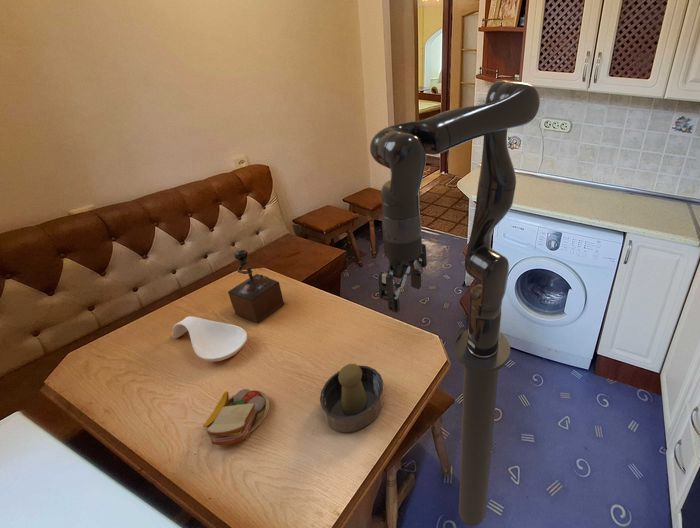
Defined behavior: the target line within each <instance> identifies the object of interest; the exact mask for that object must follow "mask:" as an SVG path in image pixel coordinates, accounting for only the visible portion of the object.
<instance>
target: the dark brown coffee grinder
mask: <svg viewBox="0 0 700 528" xmlns="http://www.w3.org/2000/svg"><path fill="white" fill-rule="evenodd" d="M248 255H249V254H248V251H247V250H246V249H238V250H237V251H236V252H235V253H234V254H233V257H234V259H236V260H237V261H239V266H238V267H237V269H236V270H237V273H239V274H244V275H248V277H249V278H248V279H246V280H244V281H242V282H241V283H239V284H237V285H236V286H234V287H233V288H231V289H229V290H228V291H227V294H228V296H229V300H230V303H231V306H232V309H233V311H234V314H235V315H236V316H237V317H238V318H241V319H244V320H246V321H249V322H252V323H254V324H256V325H259V324H260V323H261V322H263V321H265V320H266V319H268V318H269V317H270V316H272V314H274V313H276V312H277V311H279V309H281V308H282V307H283V306H284V305H285V301H284V298H283V293H282V290H281V289H282V288H281V285H280V282H279V281H278V280H275V279H273V278H270V277H268V276H265V275H263V274H258V273H256V274H254V275H253V270H252V267H251V266H247V267H246V270H242V269H243V268H244V266H246V265H247V264H248V263H249V262H250V260H249V259H248Z"/></svg>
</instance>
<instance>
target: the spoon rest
mask: <svg viewBox="0 0 700 528" xmlns="http://www.w3.org/2000/svg"><path fill="white" fill-rule="evenodd" d="M171 331H172V332H171V334H172V338H173V339H177V338H179V337H181V336H183V335H185V334H186V333H187V332H188V335H189V338H190V342H191V343H190V344H191V346H192V349H193V351H194V353H195V355H196V356H197V357H198V358H199V359H200V360H203V361H206V362H213V363H214V362H221V361H224V360H227V359H229V358H231V357H233V356H234V355H236V354H237V353H238V352H239V351H240V350H241V349H242V348H243V347H244V346H245V344H246V342H247V340H248V333H247V331H246V330H245V329H244V328H242V327H240V326H238V325H235V324H231V323H226V322H222V321H221V322H220V321H216V320H211V319H205V318H202V317H201V318H200V317H198V316H192V315H190V316H186V317H185V318H184V319H182V320H181V321H178V322H176V323H175V324H174V325H173V327H172V330H171Z"/></svg>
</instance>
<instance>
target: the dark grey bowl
mask: <svg viewBox="0 0 700 528" xmlns="http://www.w3.org/2000/svg"><path fill="white" fill-rule="evenodd" d="M357 365H358V364H357ZM358 366H359V367H360V368H361V370H362V378H361V382H362V385H363V388H364V391H365V393H366V396H367V404H366V406H365V407H364V409H363V410H361V411H360V412H358V413H356V414H347V413H345V412H344V411H343V410H342V407H341V398H342V385H341V384H340V382H339V379H338V376H339V372H340V370H339V371H337V372H335V373H334V374H333V375H331V376H330V377H329V379H328V380H327V381H325V383H324V385H323V387H322V389H321V391H320V395H319V403H320V407H321V413H322V416H323V421H324V422H325V424H326V425H327V426H328V427H329V428H331V429H333V430H334V431H336V432H341V433H353V432H357V431H359V430H362V429H363V428H365V427H367V426H368V425H370V424H372V422H374V420H375V419H377V417H378V416H379V414H380V413H381V412H382V410H383V407H384V404H385V387H384V386H385V385H384V380H383V378H382V376H381V374H380V372H378V371H377V370H376V369H375V368H373V367H370V366H368V365H360V364H359V365H358Z"/></svg>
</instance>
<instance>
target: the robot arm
mask: <svg viewBox="0 0 700 528" xmlns="http://www.w3.org/2000/svg"><path fill="white" fill-rule="evenodd" d="M540 97H541V96H540V93H539V91H538V89H536V87H534V85H532V84H529V83H526V82H519V81H512V80H503V79H502V80H496V81H494V82H493V83H492V84H491V85H490V86H489V88H488V90H487V93H486V97H485V102H484V104H479V105H478V104H477V105H471V106H469V105H468V106H463V107H457V108H452V109H449V110H446V111H442V112H440V113H437V114H435V115H432V116H430V117H429V116H428V117H427V118H425V119H421V120H415V121H407V122H402V123H397V124H393V125H389V126H387V127H384V128H382V129H381V130H379V131H377V133H375V134H374V136H373V137H372V138H371V142H370V144H369V152H370V154H371V157H372V158H373V160H374V161H375V162H376V163H378V164H379V165H381V166H383V167H385V168H386V169H388V170H389V169H390V171H391V172H390V173H391V178H390V180H388V181H386V182H384V184H382V186H381V191H380V198H381V210H382V211H381V212H382V215H381V217H382V219H381V229H382V242H383V254H384V257H386V259H387V260H388V262H389V264H388V270H386V271H385V272H384V271H380V272H378V275H377V276H378V298H379V299H380V300H382V301H386V302H387V308H388V311H390V312H393V313H395V314H398V313H399V312H400V311H401V306H400V305H401V303H400V293H401V290H402V289H404V287H405V284H406V281H407V279H408V277H409V276H410V286H411V288H414V289H415V290H420V289H421V288H422V274H423V272H424V269H423V268H427V264H428V261H427V259H428V258H427V245H426V244H425V243H423V235H422V233H423V232H422V218H421V217H422V216H421V211H420V210H421V209H420V207H421V206H420V189H421V187H422V182H423V178H424V174H425V169H426V163H427V155H435V156H436V155H440V154H443V153H445V152H448V151H450V150H452V149H454V148H456V147H458V146H460V145H462V144H465V143H467V142H470V141H472V140H475V139H478V138H481V137H483V140H482V141H483V142H482V153H481V161H480V162H481V163H480V171H479V177H478V181H477V191H476V199H475V200H476V201H475V208H474V215H473V221H472V227H471V230H470V231H471V233H470V236H469V240H468V244H467V248H466V252H465V258H464V269H465V271H466V273H467V274H468V275H469V276H470V277H472V278H473V279H474V280H476V281H477V282H478V283H480V284H477V285H475V286H473V287H472V288H471V289H470V291H469V298H468V321H467V322H468V323H467V330H468V341H467V349H468V351H469V353H470V354H471V355H473V356H474V357H476V358H479V359H488V358H491V357H493V356H495V355H496V354H497V352H498V348H499V333H501V323H502V322H501V321H502V309H503V300H504V297H505V295H506V292H507V286H508V279H509V273H510V263H509V260H508V258H507V257H506V256H505V255H503V254H501V253H500V252H498V251H496V250H494V249H493V248H492V247H491V242H492V237H493V233H494V230H495V229H496V227H497V225H498V224H499V223H500V222H501V221H502V220H504V218H505V217H506V216H507V215H508V213H509V212H510V211H511V209H512V207H513V203H514V200H515V199H514V198H515V194H516V193H515V192H516V188H517V187H516V186H517V176H516V170H515V168H514V164H513V161H512V158H511V155H510V151H509V147H508V129H513V128H517V127H522V126H525V125H528V124H529V123H531V122H533V120H534V119H535V118H536V116H537V115H538V112H539V109H540V105H541V98H540ZM420 259H421V260H420ZM394 278H395V279H396V280H400V281H399V282H397V281H395V279H394ZM394 287H395V289H394Z"/></svg>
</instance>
